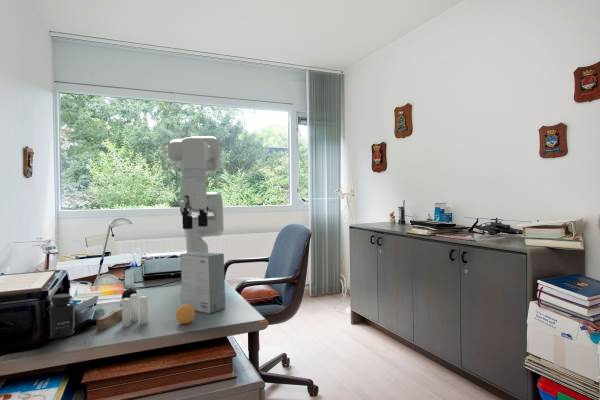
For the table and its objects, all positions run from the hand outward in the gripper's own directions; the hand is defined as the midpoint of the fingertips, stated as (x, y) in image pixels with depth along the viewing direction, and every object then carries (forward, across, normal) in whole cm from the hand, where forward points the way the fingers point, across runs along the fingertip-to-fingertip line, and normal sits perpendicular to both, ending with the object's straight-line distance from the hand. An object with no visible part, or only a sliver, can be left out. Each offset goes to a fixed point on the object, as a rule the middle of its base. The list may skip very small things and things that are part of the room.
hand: (195, 227), depth 122 cm
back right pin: (+30, +4, -21) cm, 37 cm away
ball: (+28, +3, -3) cm, 28 cm away
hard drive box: (+31, -13, -5) cm, 33 cm away
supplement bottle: (+31, +19, -34) cm, 50 cm away
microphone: (+30, -20, -42) cm, 55 cm away
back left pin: (+30, +8, -20) cm, 38 cm away
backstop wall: (+30, +7, -27) cm, 41 cm away
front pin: (+30, +5, -16) cm, 35 cm away
